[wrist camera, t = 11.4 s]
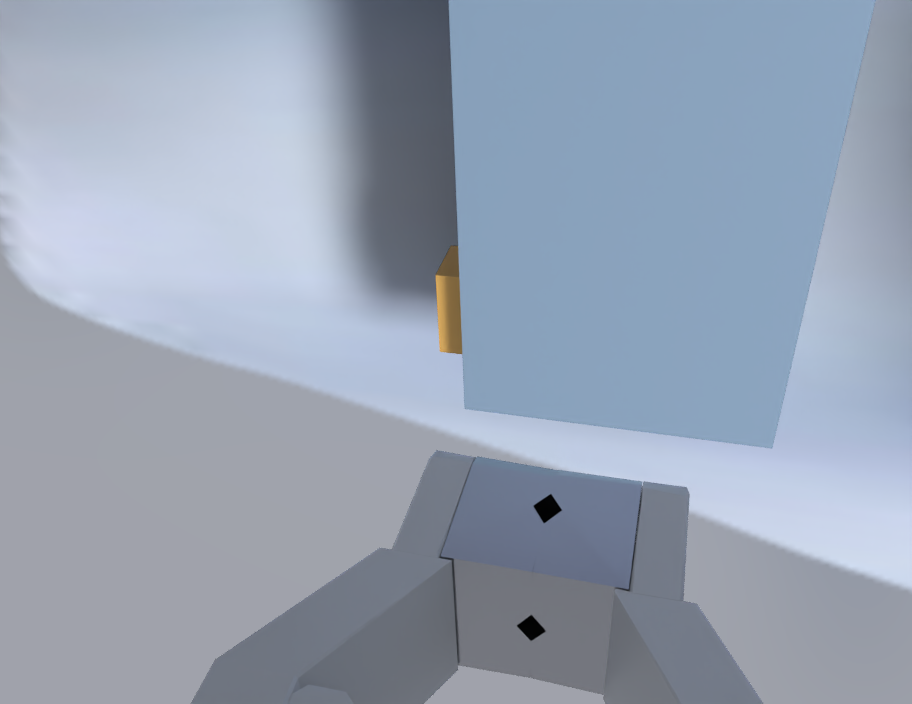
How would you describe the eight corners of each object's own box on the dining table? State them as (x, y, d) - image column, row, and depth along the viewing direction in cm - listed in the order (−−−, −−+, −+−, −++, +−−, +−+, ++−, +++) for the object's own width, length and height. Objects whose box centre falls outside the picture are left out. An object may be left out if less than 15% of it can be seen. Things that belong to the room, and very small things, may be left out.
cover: (418, -467, 19) (379, -490, 17) (966, -519, 17) (1003, -555, 15) (456, 358, 32) (436, 405, 30) (768, 394, 30) (772, 448, 28)
